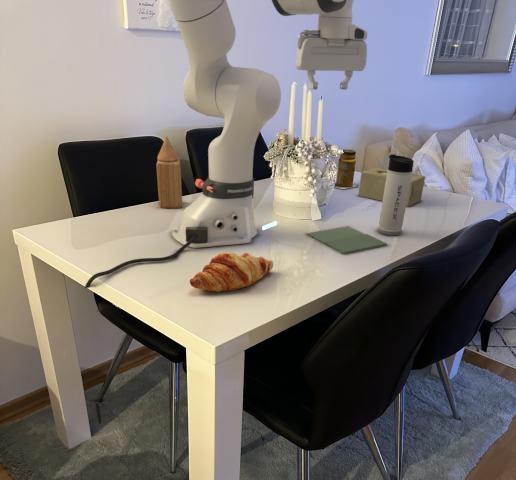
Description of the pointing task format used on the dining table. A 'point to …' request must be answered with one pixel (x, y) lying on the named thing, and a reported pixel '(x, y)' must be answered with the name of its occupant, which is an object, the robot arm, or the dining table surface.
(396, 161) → the travel mug
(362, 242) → the napkin
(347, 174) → the condiment
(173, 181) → the decorative item
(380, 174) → the tissue box
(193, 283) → the croissant
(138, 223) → the dining table surface
